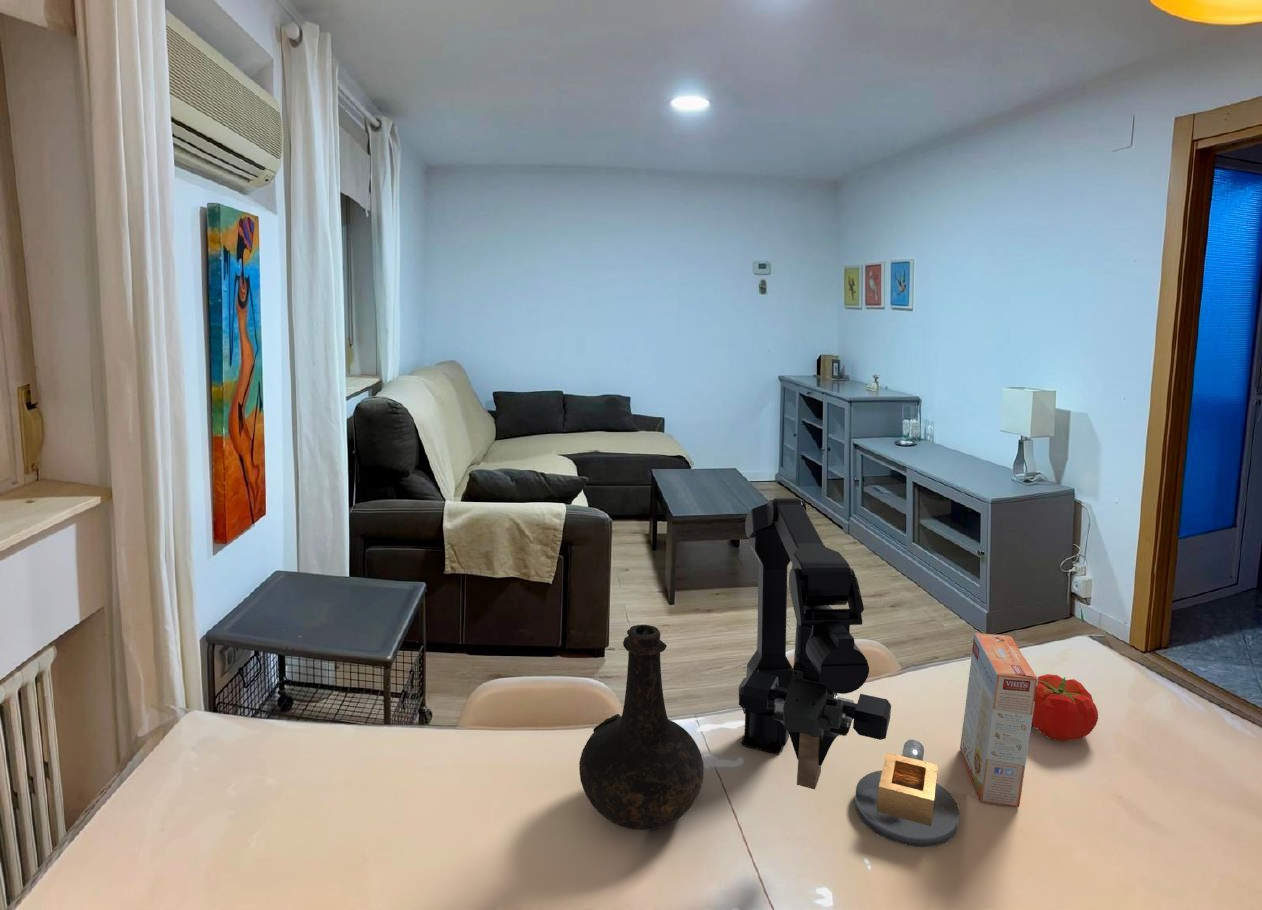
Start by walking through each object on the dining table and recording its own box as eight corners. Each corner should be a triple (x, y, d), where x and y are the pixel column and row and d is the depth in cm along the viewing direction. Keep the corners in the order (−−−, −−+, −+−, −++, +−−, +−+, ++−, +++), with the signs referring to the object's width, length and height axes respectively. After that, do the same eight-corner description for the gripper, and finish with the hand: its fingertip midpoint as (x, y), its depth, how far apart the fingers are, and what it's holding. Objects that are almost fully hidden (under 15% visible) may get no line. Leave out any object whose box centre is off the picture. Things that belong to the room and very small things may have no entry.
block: (796, 784, 102) (800, 730, 101) (803, 767, 106) (806, 714, 104) (815, 789, 101) (818, 734, 100) (820, 772, 105) (824, 718, 103)
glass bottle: (640, 755, 125) (642, 591, 118) (728, 808, 112) (735, 629, 106) (553, 805, 112) (551, 626, 106) (641, 872, 100) (644, 673, 94)
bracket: (847, 828, 108) (850, 790, 107) (865, 759, 124) (868, 726, 122) (955, 858, 103) (960, 819, 101) (960, 783, 118) (964, 748, 117)
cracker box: (1022, 809, 113) (1040, 678, 108) (978, 803, 114) (994, 673, 109) (998, 753, 126) (1013, 634, 121) (958, 748, 127) (972, 630, 123)
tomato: (1019, 702, 141) (1025, 659, 140) (1098, 725, 134) (1105, 680, 132) (1005, 734, 131) (1011, 688, 129) (1089, 760, 124) (1097, 712, 122)
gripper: (728, 665, 96) (724, 777, 100) (885, 699, 89) (875, 818, 92) (752, 630, 106) (748, 732, 109) (895, 657, 99) (886, 766, 102)
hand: (810, 761), depth 103 cm, fingers closed on block, 2 cm apart
